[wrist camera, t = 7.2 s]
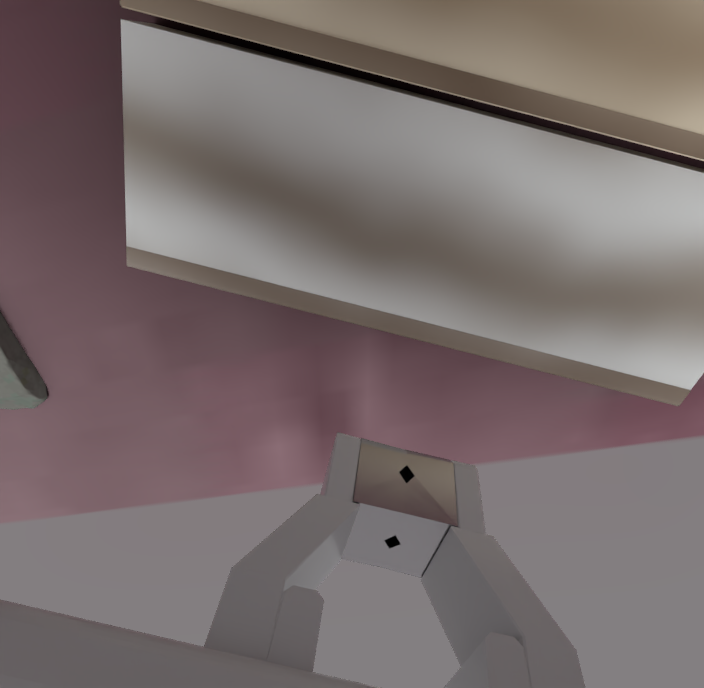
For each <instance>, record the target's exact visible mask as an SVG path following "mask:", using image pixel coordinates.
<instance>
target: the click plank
mask: <svg viewBox="0 0 704 688" xmlns="http://www.w3.org/2000/svg"><path fill="white" fill-rule="evenodd" d="M121 50H122V89H123V128H124V166H125V205H126V243H127V246H126V254H127V266H129V267H133V268H137V269H141V270H145V271H149V272H153V273H157V274H161V275H165V276H168V277H172V278H176V279H180V280H184V281H188V282H192V283H196V284H200V285H204V286H208V287H212V288H216V289H220V290H224V291H227V292H231V293H235V294H239V295H243V296H247V297H251V298H255V299H259V300H263V301H267V302H271V303H275V304H279V305H282V306H286V307H290V308H294V309H298V310H302V311H306V312H310V313H314V314H318V315H322V316H326V317H330V318H334V319H337V320H341V321H345V322H349V323H353V324H357V325H361V326H365V327H369V328H373V329H377V330H381V331H385V332H389V333H392V334H396V335H400V336H404V337H408V338H412V339H416V340H420V341H424V342H428V343H432V344H436V345H440V346H444V347H448V348H451V349H455V350H459V351H463V352H467V353H471V354H475V355H479V356H483V357H487V358H491V359H495V360H499V361H503V362H506V363H510V364H514V365H518V366H522V367H526V368H530V369H534V370H538V371H542V372H546V373H550V374H554V375H558V376H561V377H565V378H569V379H573V380H577V381H581V382H585V383H589V384H593V385H597V386H601V387H605V388H609V389H613V390H617V391H620V392H624V393H628V394H632V395H636V396H640V397H644V398H648V399H652V400H656V401H660V402H664V403H668V404H672V405H675V406H679V405H680V404H681V403H682V401H683V400H684V399H685V397H686V396H687V395H688V393H689V392H690V391H691V389H692V388H693V386H694V385H695V384H696V382H697V381H698V380H699V378H700V377H701V376H702V374H703V373H704V169H702V168H698V167H694V166H691V165H687V164H683V163H679V162H675V161H672V160H668V159H664V158H660V157H657V156H653V155H649V154H645V153H641V152H638V151H634V150H630V149H626V148H623V147H619V146H615V145H611V144H607V143H604V142H600V141H596V140H592V139H588V138H585V137H581V136H577V135H573V134H570V133H566V132H562V131H558V130H554V129H551V128H547V127H543V126H539V125H535V124H532V123H528V122H524V121H520V120H517V119H513V118H509V117H505V116H501V115H498V114H494V113H490V112H486V111H482V110H479V109H475V108H471V107H467V106H464V105H460V104H456V103H452V102H448V101H445V100H441V99H437V98H433V97H429V96H426V95H422V94H418V93H414V92H411V91H407V90H403V89H399V88H395V87H392V86H388V85H384V84H380V83H377V82H373V81H369V80H365V79H361V78H358V77H354V76H350V75H346V74H342V73H339V72H335V71H331V70H327V69H324V68H320V67H316V66H312V65H308V64H305V63H301V62H297V61H293V60H289V59H286V58H282V57H278V56H274V55H271V54H267V53H263V52H259V51H255V50H252V49H248V48H244V47H240V46H236V45H233V44H229V43H225V42H221V41H218V40H214V39H210V38H206V37H202V36H199V35H195V34H191V33H187V32H184V31H180V30H176V29H172V28H168V27H165V26H161V25H157V24H153V23H146V22H138V21H131V20H123V19H121Z"/></svg>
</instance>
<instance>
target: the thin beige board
mask: <svg viewBox="0 0 704 688" xmlns="http://www.w3.org/2000/svg"><path fill="white" fill-rule="evenodd" d="M120 5H122V7H123V8H127V9H130V10H134V11H138V12H142V13H146V14H149V15H153V16H157V17H161V18H165V19H168V20H172V21H176V22H180V23H183V24H187V25H191V26H195V27H199V28H202V29H206V30H210V31H214V32H217V33H221V34H225V35H229V36H233V37H236V38H240V39H244V40H248V41H251V42H255V43H259V44H263V45H267V46H270V47H274V48H278V49H282V50H285V51H289V52H293V53H297V54H301V55H304V56H308V57H312V58H316V59H320V60H323V61H327V62H331V63H335V64H338V65H342V66H346V67H350V68H354V69H357V70H361V71H365V72H369V73H372V74H376V75H380V76H384V77H388V78H391V79H395V80H399V81H403V82H406V83H410V84H414V85H418V86H422V87H425V88H429V89H433V90H437V91H440V92H444V93H448V94H452V95H456V96H459V97H463V98H467V99H471V100H474V101H478V102H482V103H486V104H490V105H493V106H497V107H501V108H505V109H509V110H512V111H516V112H520V113H524V114H527V115H531V116H535V117H539V118H543V119H546V120H550V121H554V122H558V123H561V124H565V125H569V126H573V127H577V128H580V129H584V130H588V131H592V132H595V133H599V134H603V135H607V136H611V137H614V138H618V139H622V140H626V141H629V142H633V143H637V144H641V145H645V146H648V147H652V148H656V149H660V150H663V151H667V152H671V153H675V154H679V155H682V156H686V157H690V158H694V159H698V160H701V161H704V0H120Z"/></svg>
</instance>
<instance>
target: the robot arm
mask: <svg viewBox="0 0 704 688" xmlns="http://www.w3.org/2000/svg"><path fill="white" fill-rule="evenodd" d="M341 559H344V560H349V561H353V562H358V563H364V564H368V565H373V566H377V567H382V568H386V569H389V570H393V571H397V572H401V573H404V574H408V575H412V576H416V577H419V578H422V579H421V582H422V584H423V586H424V588H425V590H426V592H427V595H428V597H429V599H430V601H431V603H432V605H433V607H434V610H435V612H436V614H437V616H438V618H439V620H440V623H441V624H442V627H443V629H444V631H445V633H446V635H447V638H448V640H449V642H450V644H451V646H452V648H453V650H454V653H455V655H456V657H457V659H458V661H459V663H460V666H461V668H460V669H459V670H458V671H457V672H456V674H455V675H454V676H453V677H452V678H451V680H450V681H449V682H448V683H447V685H446V686H445V687H444V688H585V684H584V680H583V676H582V672H581V668H580V664H579V660H578V655H577V651H576V649H575V648H574V646H573V645H572V644H571V642H570V641H569V639H568V638H567V637H566V636H565V634H564V633H563V631H562V630H561V629H560V627H559V626H558V624H557V623H556V622H555V620H554V619H553V618H552V616H551V615H550V614H549V612H548V611H547V610H546V608H545V607H544V605H543V604H542V602H541V601H540V600H539V598H538V597H537V596H536V594H535V593H534V592H533V590H532V589H531V588H530V586H529V585H528V583H527V582H526V581H525V579H524V578H523V576H522V575H521V574H520V572H519V571H518V570H517V568H516V567H515V566H514V564H513V563H512V561H511V560H510V559H509V557H508V556H507V555H506V553H505V552H504V550H503V549H502V548H501V546H500V545H499V544H498V542H497V541H496V539H494V537H493V536H491V535H487V534H486V532H485V523H484V516H483V508H482V500H481V492H480V484H479V476H478V470H477V468H476V467H475V466H474V465H470V464H465V463H461V462H457V461H450V460H448V459H444V458H440V457H435V456H431V455H427V454H422V453H418V452H414V451H409V450H404V449H400V448H396V447H392V446H389V445H385V444H381V443H378V442H374V441H370V440H366V439H363V438H361V439H360V438H357V437H353V436H350V435H346V434H342V433H339V432H338V433H337V435H336V438H335V442H334V445H333V449H332V452H331V456H330V459H329V463H328V466H327V470H326V474H325V478H324V482H323V486H322V490H321V494H317V495H315V496H314V497H313V498H312V499H311V500H310V501H308V502H307V503H306V504H305V505H304V506H303V507H302V508H300V509H299V510H298V511H297V512H296V513H295V514H293V515H292V516H291V517H290V518H289V519H288V520H286V521H285V522H284V523H283V524H282V525H281V526H280V527H278V528H277V529H276V530H275V531H274V532H273V533H271V534H270V535H269V536H268V537H267V538H266V539H264V540H263V541H262V542H261V543H260V544H259V545H257V547H255V548H254V549H253V550H252V551H251V552H249V553H248V554H247V555H246V556H245V557H244V558H243V559H241V560H240V561H239V562H238V563H237V564H236V565H234V566H233V567H232V568H231V571H230V574H229V577H228V580H227V582H226V585H225V588H224V591H223V594H222V596H221V599H220V602H219V605H218V608H217V611H216V613H215V617H214V619H213V622H212V625H211V628H210V631H209V633H208V636H207V639H206V642H205V645H204V647H203V646H198V645H194V644H190V643H186V642H181V641H177V640H173V639H168V638H164V637H160V636H156V635H151V634H146V633H142V632H138V631H134V630H130V629H125V628H121V627H116V626H112V625H108V624H103V623H99V622H95V621H90V620H86V619H82V618H78V617H73V616H69V615H65V614H61V613H56V612H52V611H47V610H43V609H39V608H34V607H30V606H26V605H21V604H17V603H12V602H9V601H4V600H0V688H379V687H375V686H371V685H367V684H363V683H358V682H354V681H350V680H345V679H341V678H337V677H332V676H328V675H323V674H319V673H315V672H313V666H314V660H315V653H316V647H317V641H318V634H319V628H320V622H321V615H322V610H323V603H324V600H323V598H322V597H321V595H320V594H319V593H318V591H317V590H316V589H317V588H318V587H319V585H320V584H321V583H322V582H323V581H324V580H325V578H326V577H327V576H328V575H329V574H330V573H331V571H332V570H333V569H334V568H335V567H336V565H337V564H338V563H339V562H340V560H341Z"/></svg>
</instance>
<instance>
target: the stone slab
mask: <svg viewBox="0 0 704 688" xmlns="http://www.w3.org/2000/svg"><path fill="white" fill-rule="evenodd" d="M46 399H47V391H46V385H45V383H44V381H43V380H42V378H41V376H40V375H39V373H38V371H37V370H36V368H35V366H34V365H33V363H32V362H31V361H30V359H29V357H28V356H27V354H26V353H25V351H24V350H23V348H22V347H21V345H20V344H19V342H18V340H17V339H16V337H15V336H14V334H13V332H12V331H11V329H10V328H9V326H8V324H7V322H6V321H5V319H4V317H3V316H2V314H1V312H0V409H21V408H35V407H37V406H38V405H39V404H41V403H42V402H44V401H45V400H46Z"/></svg>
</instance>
